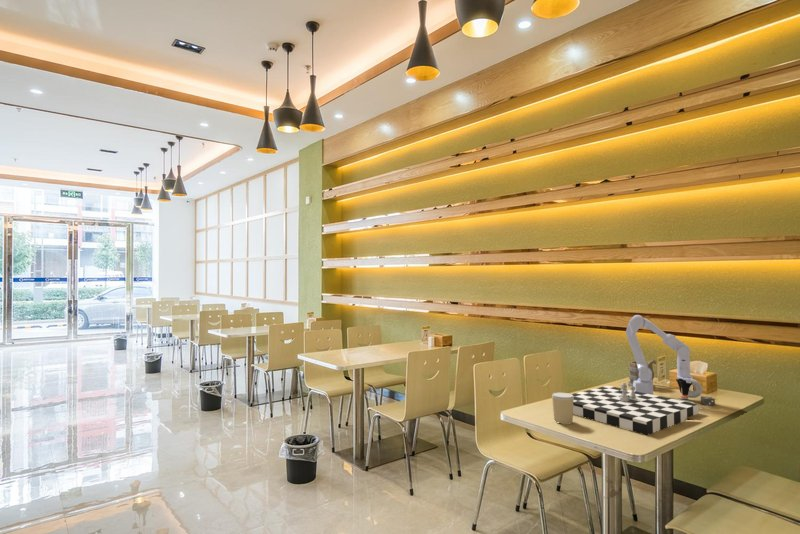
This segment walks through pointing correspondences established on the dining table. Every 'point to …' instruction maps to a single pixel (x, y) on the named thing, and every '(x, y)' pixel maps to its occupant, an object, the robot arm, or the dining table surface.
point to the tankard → (635, 372)
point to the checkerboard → (631, 408)
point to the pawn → (683, 395)
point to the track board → (688, 401)
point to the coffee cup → (563, 407)
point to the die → (708, 401)
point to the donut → (697, 391)
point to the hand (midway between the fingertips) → (684, 394)
